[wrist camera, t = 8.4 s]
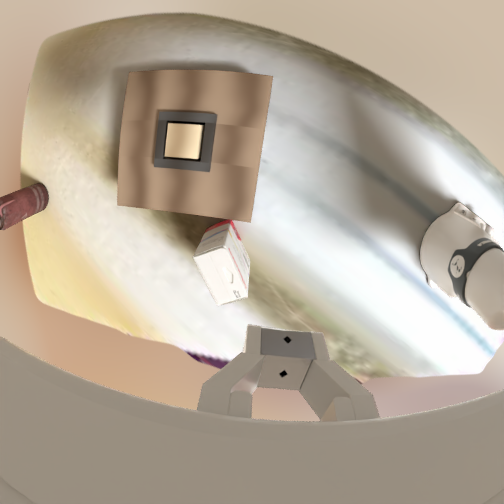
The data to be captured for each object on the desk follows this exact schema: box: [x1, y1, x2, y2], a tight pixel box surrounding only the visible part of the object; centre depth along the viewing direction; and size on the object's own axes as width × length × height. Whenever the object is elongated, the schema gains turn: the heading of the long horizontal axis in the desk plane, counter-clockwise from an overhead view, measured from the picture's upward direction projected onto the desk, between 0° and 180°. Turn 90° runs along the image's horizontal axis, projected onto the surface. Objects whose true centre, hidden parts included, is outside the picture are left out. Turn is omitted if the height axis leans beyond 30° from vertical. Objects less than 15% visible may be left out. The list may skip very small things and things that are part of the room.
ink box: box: [193, 219, 250, 305], centre depth 41 cm, size 9×5×12 cm, turn 21°
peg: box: [165, 123, 205, 159], centre depth 35 cm, size 4×4×9 cm
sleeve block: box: [117, 70, 273, 223], centre depth 36 cm, size 20×20×9 cm
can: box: [0, 183, 49, 230], centre depth 38 cm, size 6×6×14 cm
